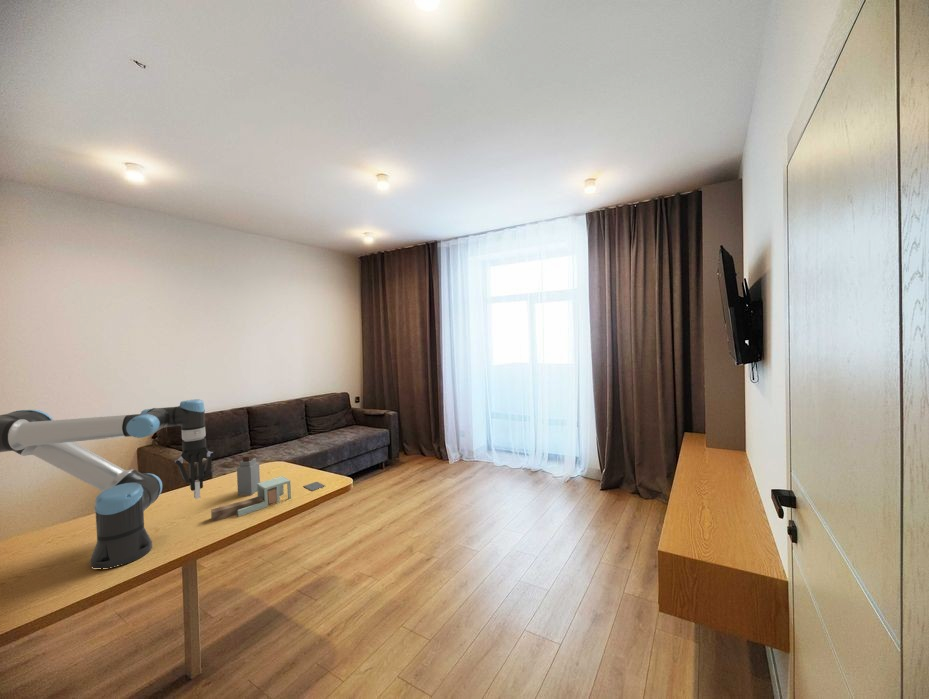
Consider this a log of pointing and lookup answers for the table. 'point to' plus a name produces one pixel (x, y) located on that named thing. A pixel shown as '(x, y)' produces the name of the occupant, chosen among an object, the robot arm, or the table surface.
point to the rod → (232, 509)
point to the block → (271, 495)
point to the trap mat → (314, 486)
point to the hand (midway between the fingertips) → (197, 497)
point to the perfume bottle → (248, 475)
